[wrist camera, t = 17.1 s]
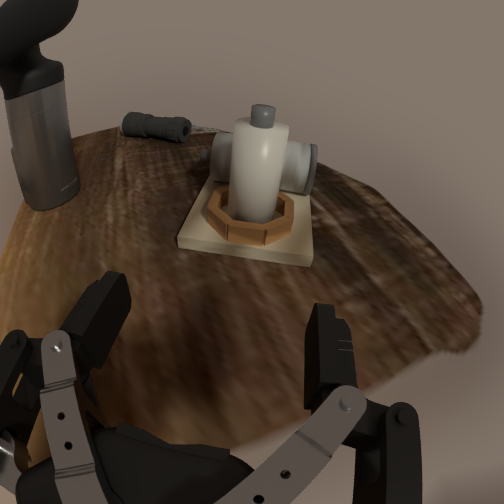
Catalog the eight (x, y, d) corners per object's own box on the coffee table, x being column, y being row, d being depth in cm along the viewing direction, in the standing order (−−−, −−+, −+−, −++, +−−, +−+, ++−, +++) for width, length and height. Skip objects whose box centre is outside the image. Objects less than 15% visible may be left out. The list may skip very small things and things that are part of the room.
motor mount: (169, 246, 31) (162, 176, 25) (207, 174, 43) (208, 123, 38) (310, 267, 30) (329, 199, 25) (306, 188, 43) (316, 137, 37)
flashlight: (193, 138, 56) (194, 114, 52) (179, 147, 52) (179, 121, 48) (136, 131, 59) (135, 109, 55) (121, 139, 55) (119, 115, 51)
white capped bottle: (223, 228, 31) (230, 110, 22) (231, 202, 35) (239, 98, 26) (271, 235, 31) (292, 118, 22) (274, 208, 35) (291, 105, 26)
